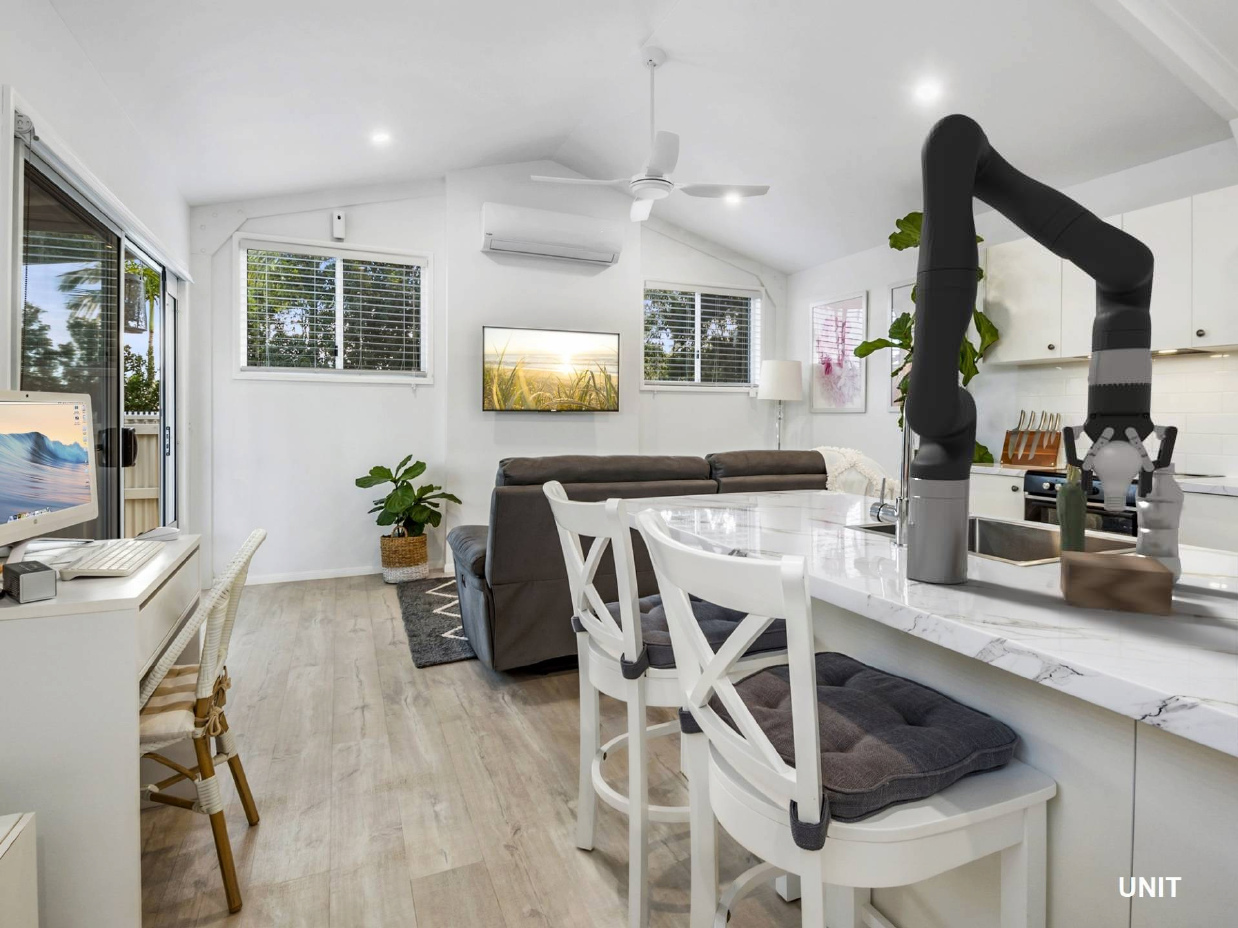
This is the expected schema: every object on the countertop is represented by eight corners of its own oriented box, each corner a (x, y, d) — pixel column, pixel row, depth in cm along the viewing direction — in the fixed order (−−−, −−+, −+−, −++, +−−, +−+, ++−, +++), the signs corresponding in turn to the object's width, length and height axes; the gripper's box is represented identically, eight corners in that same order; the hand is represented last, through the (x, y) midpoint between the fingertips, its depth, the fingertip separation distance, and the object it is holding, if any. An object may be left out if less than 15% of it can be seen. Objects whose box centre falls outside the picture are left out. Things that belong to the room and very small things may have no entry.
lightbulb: (1079, 510, 105) (1081, 438, 104) (1121, 510, 105) (1123, 438, 104) (1107, 516, 99) (1109, 439, 98) (1152, 515, 98) (1155, 439, 98)
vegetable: (1088, 579, 116) (1093, 461, 115) (1060, 578, 117) (1064, 461, 115) (1076, 573, 120) (1081, 460, 119) (1049, 572, 121) (1053, 460, 120)
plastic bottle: (1138, 586, 111) (1143, 463, 110) (1125, 577, 117) (1130, 461, 116) (1187, 590, 108) (1193, 464, 107) (1171, 580, 115) (1177, 461, 113)
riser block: (1067, 605, 100) (1069, 564, 100) (1060, 587, 111) (1061, 550, 110) (1171, 615, 94) (1173, 573, 94) (1152, 595, 105) (1154, 557, 105)
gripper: (1063, 382, 101) (1059, 496, 102) (1188, 379, 94) (1182, 501, 95) (1059, 384, 107) (1055, 491, 108) (1175, 381, 100) (1170, 495, 101)
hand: (1115, 495), depth 102 cm, fingers closed on lightbulb, 6 cm apart
